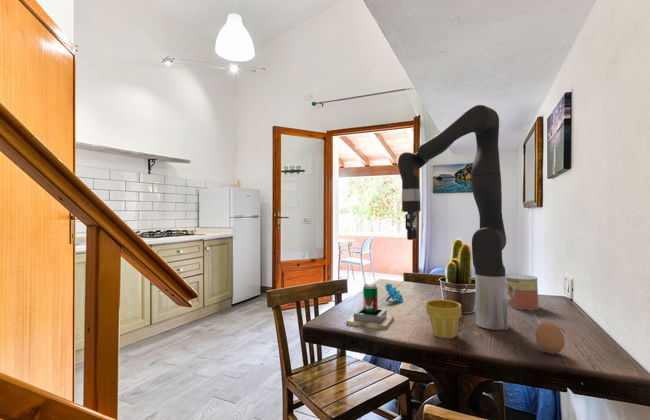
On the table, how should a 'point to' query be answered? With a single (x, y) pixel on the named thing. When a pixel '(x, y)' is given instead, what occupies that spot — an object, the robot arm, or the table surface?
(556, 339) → the egg
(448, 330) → the plant pot
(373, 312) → the soda can
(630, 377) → the table surface
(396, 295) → the blue knobbly figurine
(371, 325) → the board
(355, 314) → the collar
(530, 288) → the canned food
